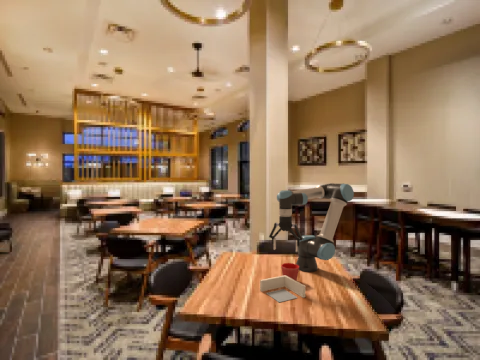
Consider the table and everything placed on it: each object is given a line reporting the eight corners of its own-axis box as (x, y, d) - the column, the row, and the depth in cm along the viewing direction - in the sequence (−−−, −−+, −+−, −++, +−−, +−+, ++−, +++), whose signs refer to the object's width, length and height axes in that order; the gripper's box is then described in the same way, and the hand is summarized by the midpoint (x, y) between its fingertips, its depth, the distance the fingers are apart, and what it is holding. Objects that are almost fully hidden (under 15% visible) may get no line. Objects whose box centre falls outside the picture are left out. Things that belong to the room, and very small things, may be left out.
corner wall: (285, 285, 156) (285, 275, 156) (305, 297, 140) (305, 285, 140) (260, 290, 147) (260, 280, 147) (278, 303, 132) (278, 292, 132)
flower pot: (299, 285, 155) (299, 269, 155) (280, 283, 158) (280, 267, 158) (298, 279, 166) (299, 263, 166) (281, 277, 168) (281, 262, 168)
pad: (283, 289, 150) (283, 288, 150) (297, 298, 139) (297, 297, 139) (265, 293, 144) (265, 292, 144) (279, 302, 133) (279, 302, 133)
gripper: (264, 215, 161) (264, 249, 161) (305, 217, 152) (305, 254, 152) (267, 213, 168) (267, 246, 168) (307, 215, 158) (307, 250, 159)
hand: (285, 250), depth 160 cm, fingers open, 13 cm apart
